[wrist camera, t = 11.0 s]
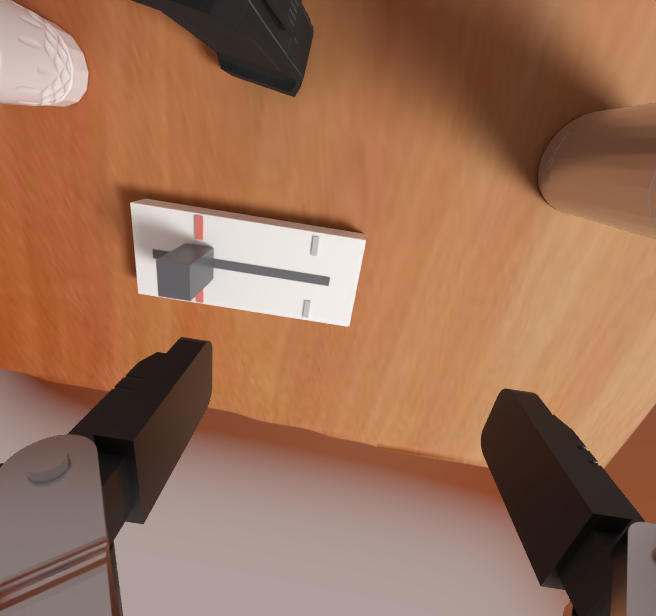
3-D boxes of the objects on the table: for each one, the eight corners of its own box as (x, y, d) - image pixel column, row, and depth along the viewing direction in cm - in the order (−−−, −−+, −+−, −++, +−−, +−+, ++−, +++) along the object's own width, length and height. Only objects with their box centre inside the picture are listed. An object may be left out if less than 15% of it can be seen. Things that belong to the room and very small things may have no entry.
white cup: (106, 111, 34) (19, 97, 25) (31, 115, 35) (-81, 103, 26) (79, 10, 31) (-33, -48, 22) (-3, 16, 32) (-145, -37, 23)
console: (364, 233, 38) (366, 240, 35) (349, 315, 42) (349, 327, 39) (146, 198, 38) (129, 202, 35) (152, 284, 42) (137, 294, 39)
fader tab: (213, 247, 36) (189, 265, 31) (213, 279, 38) (190, 301, 32) (185, 243, 36) (155, 259, 31) (185, 274, 38) (158, 296, 32)
